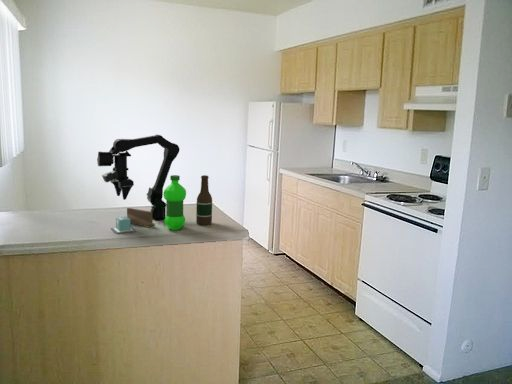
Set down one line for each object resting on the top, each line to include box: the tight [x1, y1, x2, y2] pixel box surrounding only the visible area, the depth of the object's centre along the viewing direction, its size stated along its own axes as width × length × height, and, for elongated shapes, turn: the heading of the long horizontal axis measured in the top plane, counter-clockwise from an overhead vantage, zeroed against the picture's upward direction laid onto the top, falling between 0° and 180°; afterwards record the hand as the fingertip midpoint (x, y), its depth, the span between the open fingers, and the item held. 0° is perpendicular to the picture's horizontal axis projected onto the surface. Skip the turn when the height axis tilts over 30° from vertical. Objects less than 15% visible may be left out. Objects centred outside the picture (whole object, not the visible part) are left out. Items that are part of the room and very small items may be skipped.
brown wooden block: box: [126, 207, 156, 229], centre depth 213 cm, size 5×14×7 cm, turn 64°
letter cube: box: [115, 216, 132, 231], centre depth 202 cm, size 5×5×5 cm
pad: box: [110, 226, 137, 235], centre depth 203 cm, size 9×9×1 cm
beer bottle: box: [195, 174, 213, 227], centre depth 217 cm, size 8×8×24 cm
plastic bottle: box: [163, 174, 187, 231], centre depth 207 cm, size 10×10×25 cm
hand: (121, 197), depth 215 cm, fingers open, 9 cm apart
